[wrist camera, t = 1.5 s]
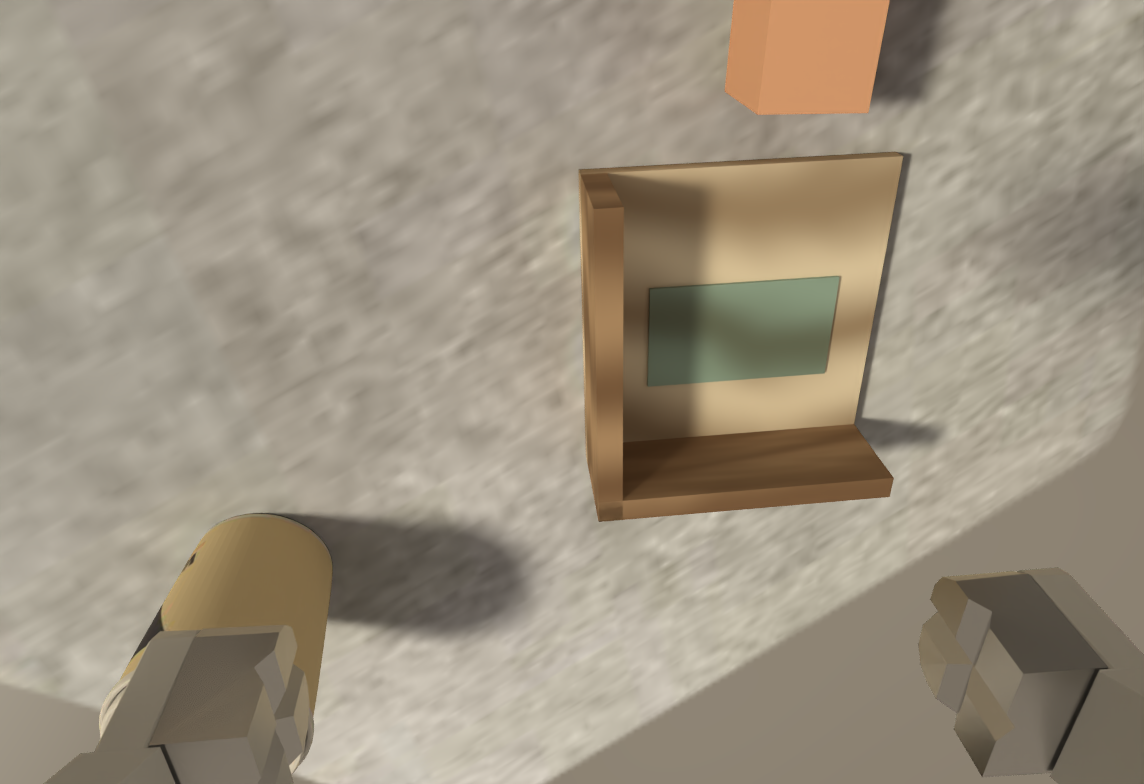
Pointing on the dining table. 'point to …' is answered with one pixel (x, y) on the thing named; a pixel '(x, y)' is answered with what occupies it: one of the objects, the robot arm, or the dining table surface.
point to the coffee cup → (250, 594)
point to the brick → (805, 55)
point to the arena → (731, 331)
